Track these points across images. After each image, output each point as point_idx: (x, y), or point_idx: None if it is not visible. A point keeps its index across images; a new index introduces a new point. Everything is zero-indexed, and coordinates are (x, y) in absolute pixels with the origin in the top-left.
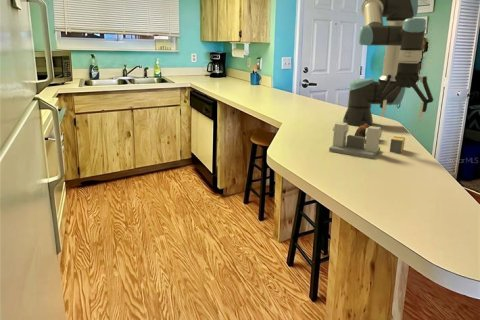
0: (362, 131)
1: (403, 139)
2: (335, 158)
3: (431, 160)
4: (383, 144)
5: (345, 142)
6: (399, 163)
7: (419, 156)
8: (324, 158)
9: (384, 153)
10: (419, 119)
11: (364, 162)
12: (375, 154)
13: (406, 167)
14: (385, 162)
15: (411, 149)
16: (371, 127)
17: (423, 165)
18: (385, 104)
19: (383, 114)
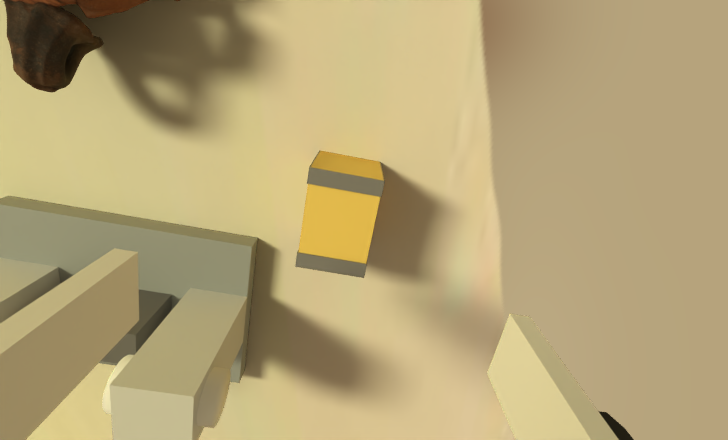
0: (46, 86)
1: (373, 228)
2: (103, 416)
3: (502, 303)
4: (256, 75)
5: (47, 277)
6: (359, 388)
7: (455, 260)
8: (64, 430)
9: (285, 273)
10: (498, 383)
11: (225, 422)
12: (247, 328)
13: (384, 421)
14: (303, 395)
15: (429, 134)
16: (132, 421)
17: (453, 379)
18: (16, 408)
19: (120, 338)
